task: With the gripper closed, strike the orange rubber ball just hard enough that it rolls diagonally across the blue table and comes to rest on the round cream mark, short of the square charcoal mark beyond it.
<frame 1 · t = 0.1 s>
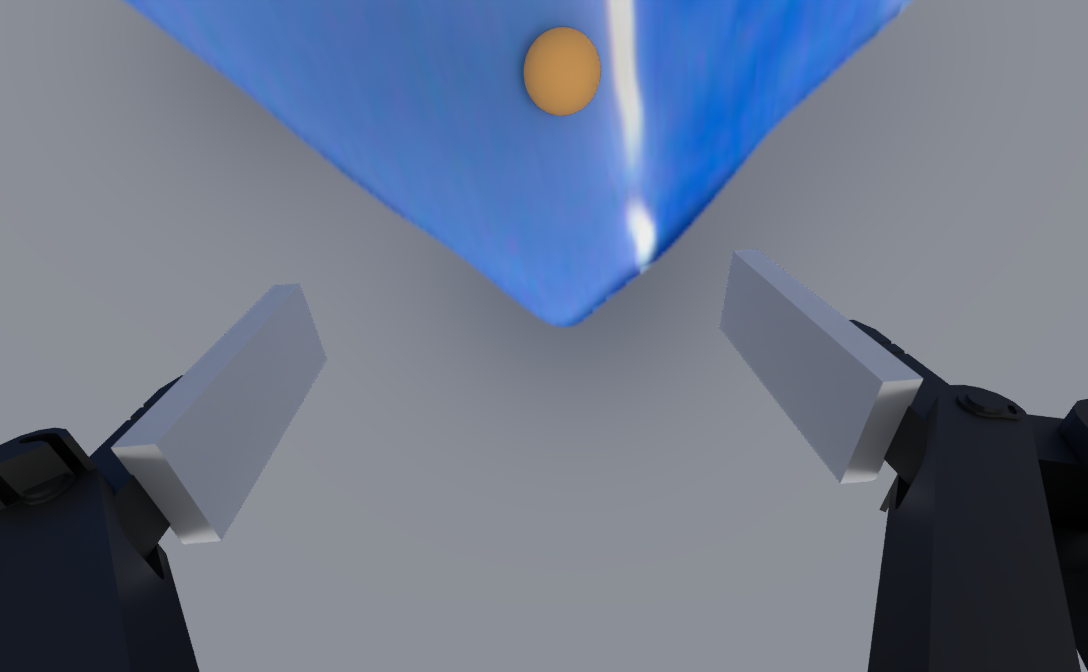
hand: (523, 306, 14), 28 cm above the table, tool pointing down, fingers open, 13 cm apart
ball: (562, 73, 33), on the table
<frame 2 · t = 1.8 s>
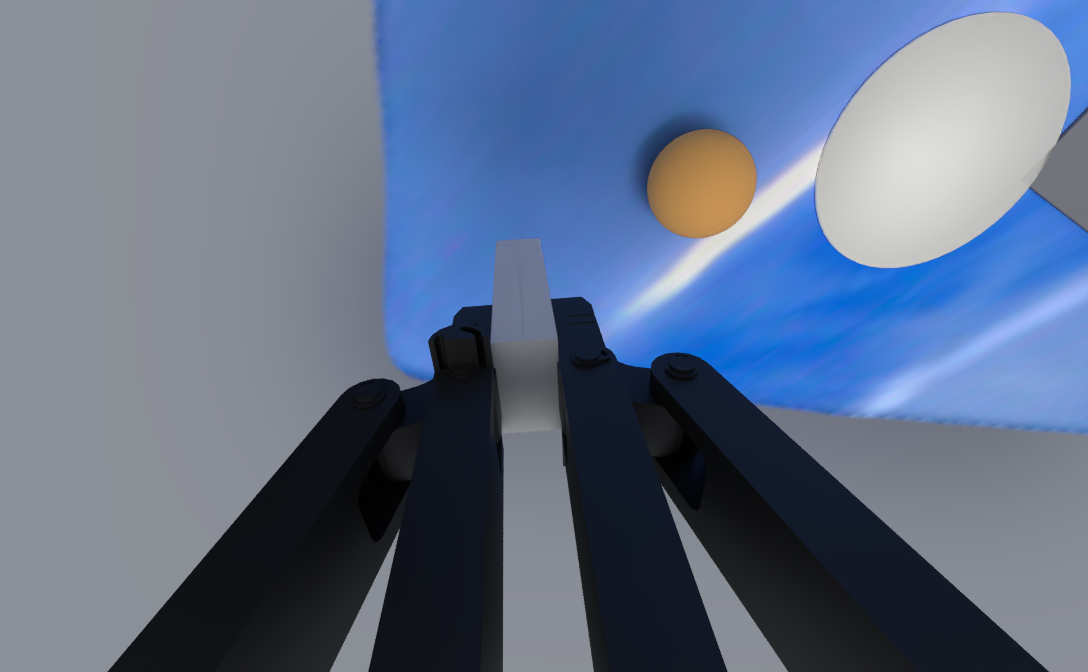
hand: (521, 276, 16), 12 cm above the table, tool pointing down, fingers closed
ball: (699, 185, 25), on the table
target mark: (934, 156, 27), on the table
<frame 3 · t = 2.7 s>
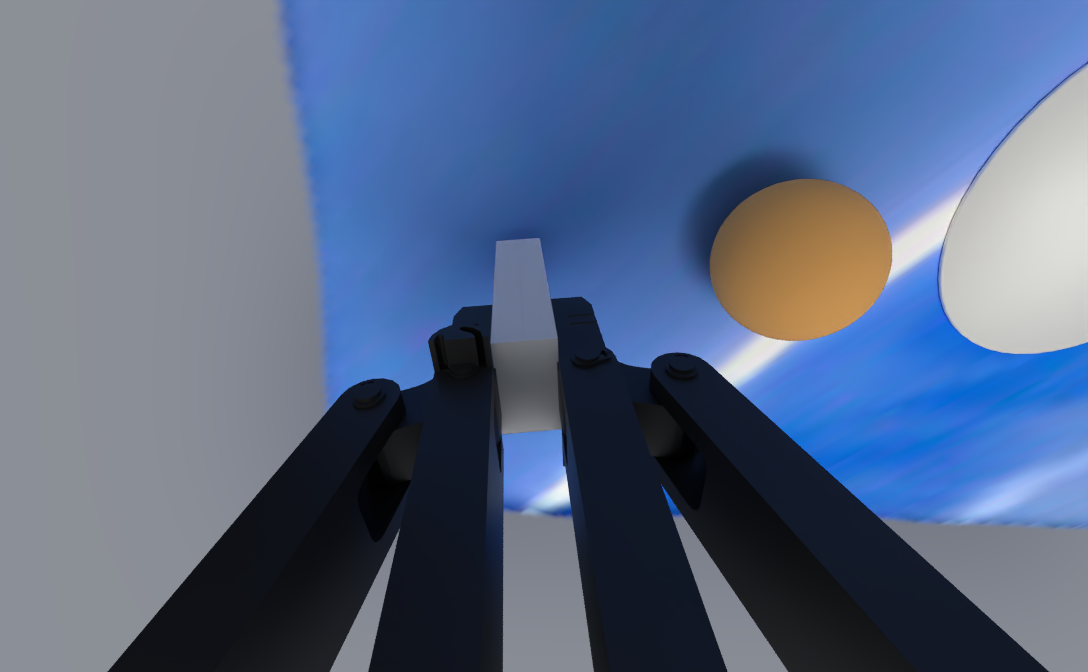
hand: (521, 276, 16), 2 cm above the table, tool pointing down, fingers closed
ball: (793, 261, 16), on the table
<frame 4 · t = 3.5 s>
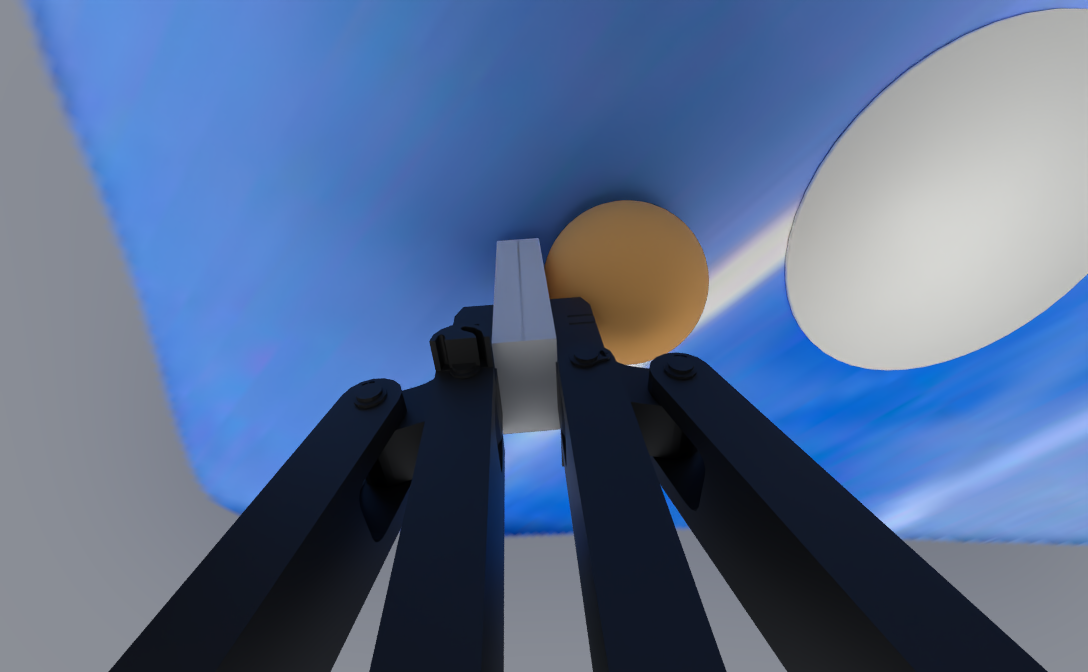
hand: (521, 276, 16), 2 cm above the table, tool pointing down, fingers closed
ball: (623, 284, 16), on the table, touching gripper
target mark: (961, 223, 18), on the table
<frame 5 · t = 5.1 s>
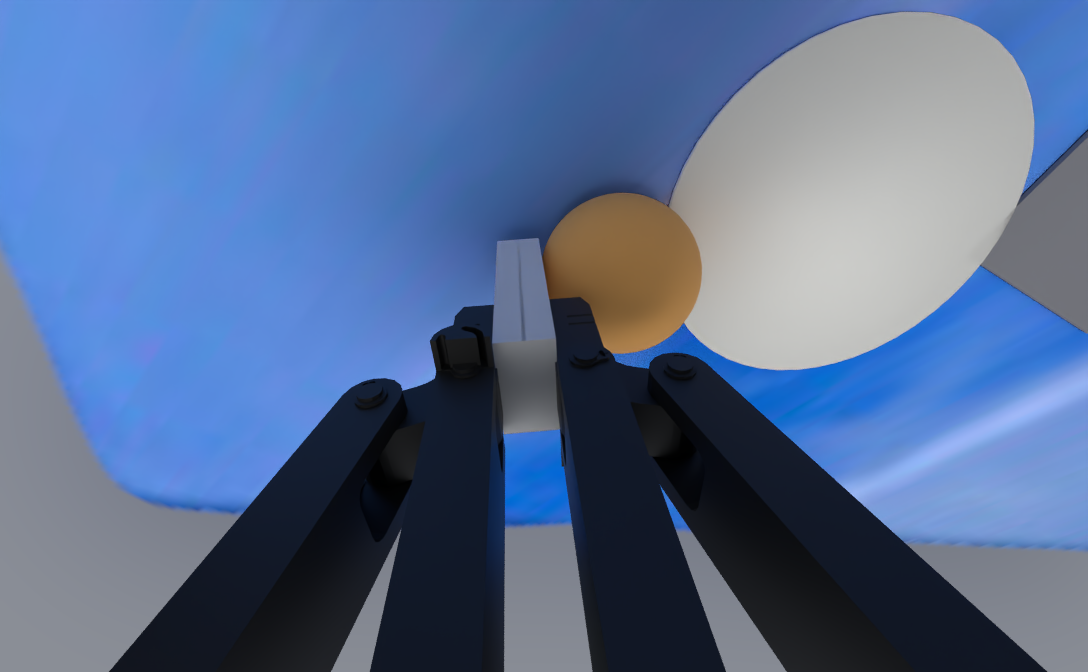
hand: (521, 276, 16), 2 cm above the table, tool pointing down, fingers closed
ball: (618, 274, 16), on the table, touching gripper
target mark: (836, 225, 18), on the table
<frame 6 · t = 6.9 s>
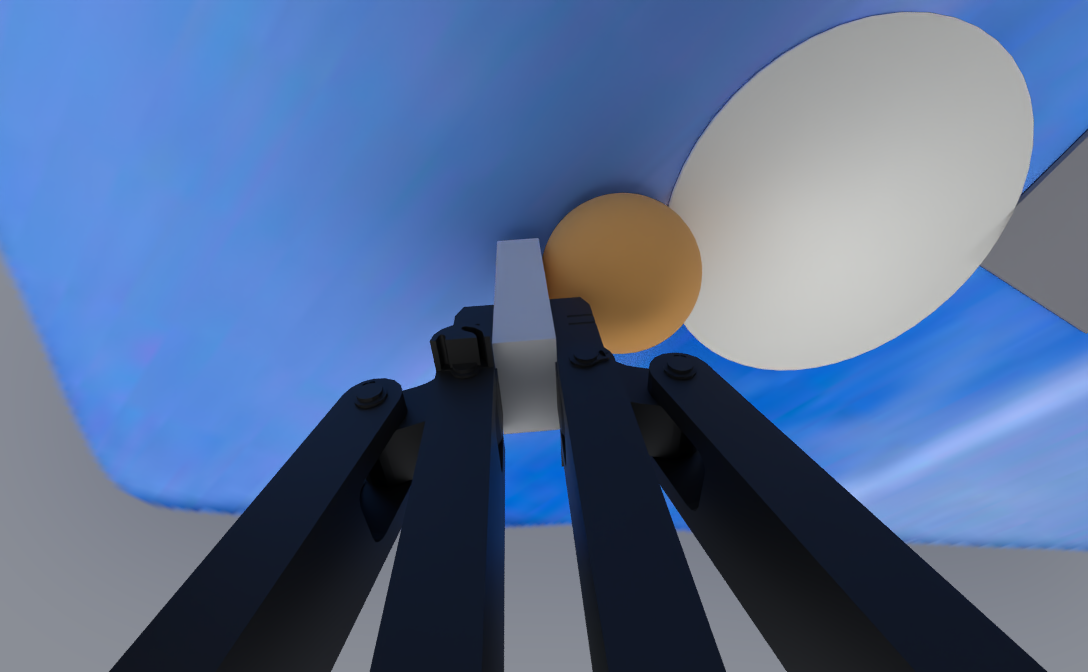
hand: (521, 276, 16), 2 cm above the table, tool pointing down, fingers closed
ball: (618, 275, 16), on the table, touching gripper
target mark: (835, 225, 18), on the table
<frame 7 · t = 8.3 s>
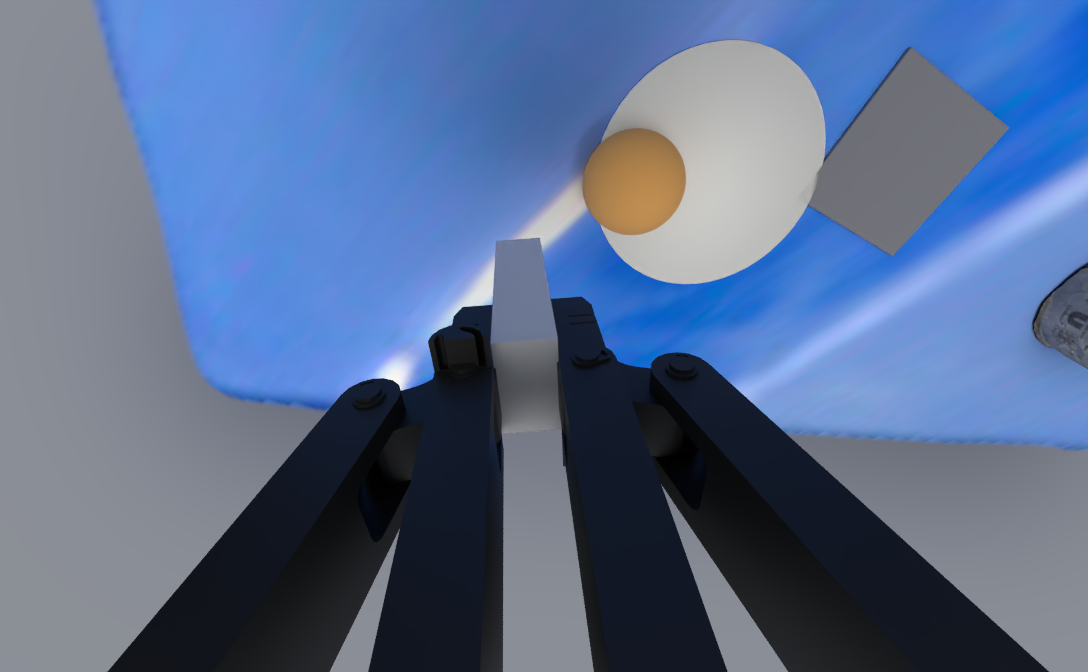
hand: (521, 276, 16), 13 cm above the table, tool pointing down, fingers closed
spray can: (1081, 303, 35), on the table
ball: (633, 183, 25), on the table
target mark: (707, 177, 28), on the table
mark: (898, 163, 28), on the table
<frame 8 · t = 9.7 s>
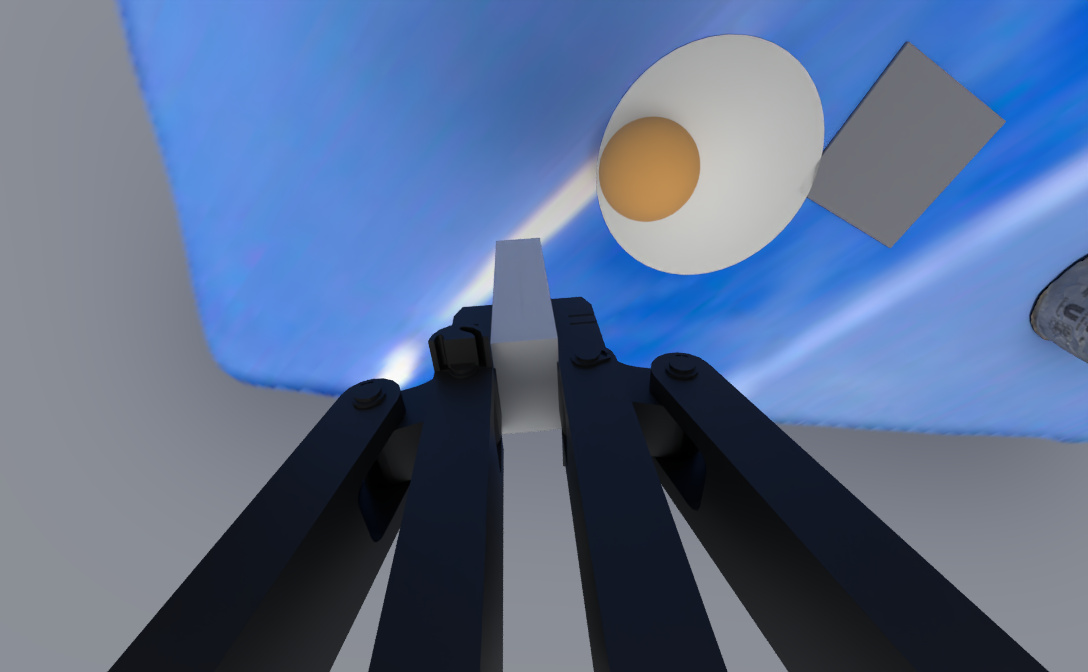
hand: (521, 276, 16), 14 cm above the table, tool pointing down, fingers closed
spray can: (1078, 296, 36), on the table
ball: (648, 171, 26), on the table
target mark: (708, 169, 29), on the table
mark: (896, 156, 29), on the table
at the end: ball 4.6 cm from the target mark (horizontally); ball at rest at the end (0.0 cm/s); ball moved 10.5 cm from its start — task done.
